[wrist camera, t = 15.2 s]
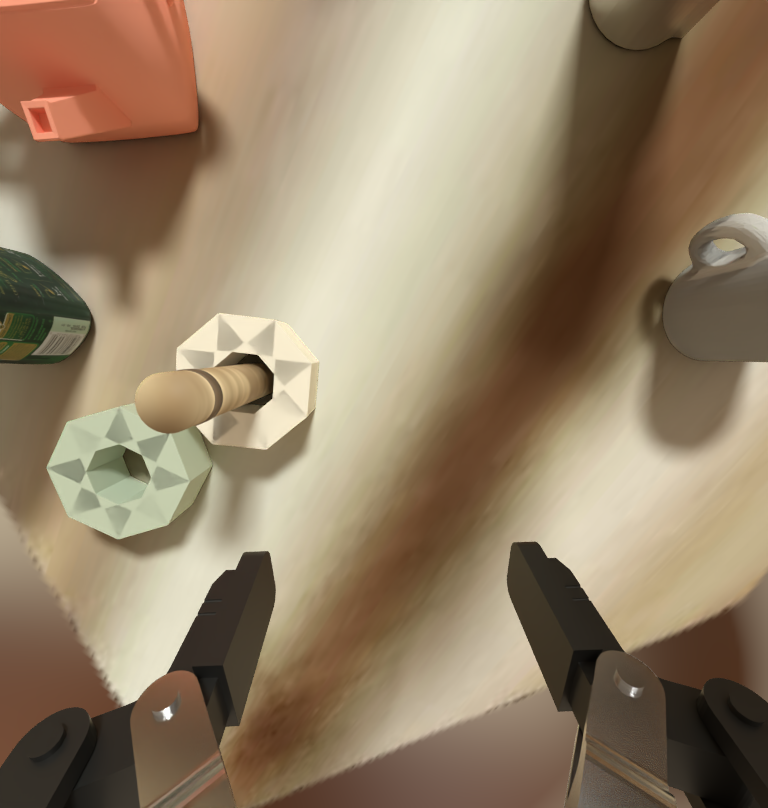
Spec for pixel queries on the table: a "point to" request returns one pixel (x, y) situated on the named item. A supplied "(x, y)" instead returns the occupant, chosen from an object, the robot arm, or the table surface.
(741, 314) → the coffee mug
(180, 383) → the grooved wooden dowel
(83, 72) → the teapot
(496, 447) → the table surface
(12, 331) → the coffee jar
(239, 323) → the cream octagonal ring
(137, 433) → the sage bead
